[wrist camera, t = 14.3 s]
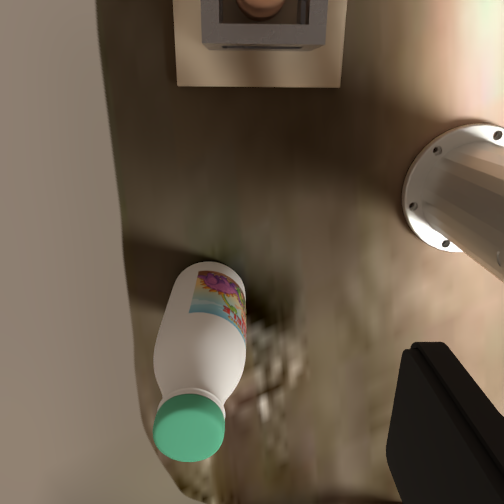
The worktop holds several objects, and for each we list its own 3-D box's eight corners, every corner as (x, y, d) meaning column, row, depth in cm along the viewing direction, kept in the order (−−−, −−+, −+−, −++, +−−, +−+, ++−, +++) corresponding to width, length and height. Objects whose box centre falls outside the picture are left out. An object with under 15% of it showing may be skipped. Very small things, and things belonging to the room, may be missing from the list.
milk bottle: (197, 333, 47) (169, 497, 29) (159, 279, 44) (101, 421, 26) (258, 304, 46) (269, 455, 27) (222, 246, 43) (208, 370, 25)
